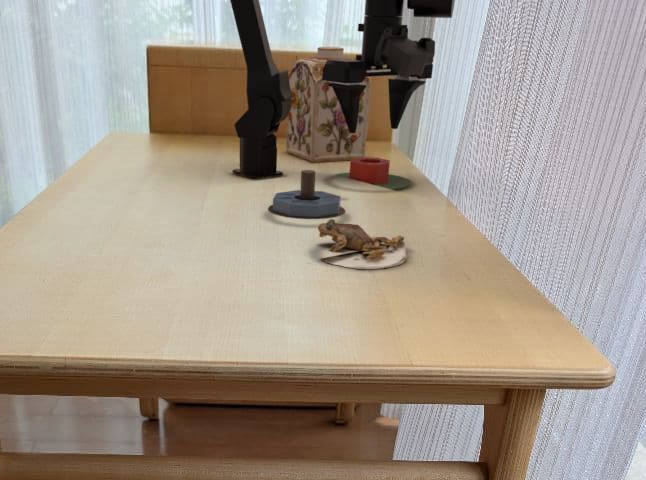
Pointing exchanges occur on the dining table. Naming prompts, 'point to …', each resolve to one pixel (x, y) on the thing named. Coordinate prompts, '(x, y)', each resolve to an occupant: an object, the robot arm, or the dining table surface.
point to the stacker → (307, 195)
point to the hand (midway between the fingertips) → (373, 130)
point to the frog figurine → (362, 247)
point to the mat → (392, 184)
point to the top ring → (369, 170)
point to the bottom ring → (306, 204)
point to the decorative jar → (323, 114)
